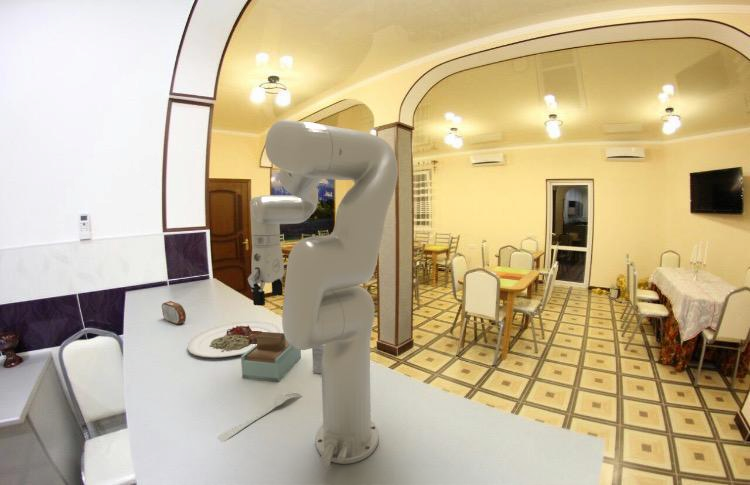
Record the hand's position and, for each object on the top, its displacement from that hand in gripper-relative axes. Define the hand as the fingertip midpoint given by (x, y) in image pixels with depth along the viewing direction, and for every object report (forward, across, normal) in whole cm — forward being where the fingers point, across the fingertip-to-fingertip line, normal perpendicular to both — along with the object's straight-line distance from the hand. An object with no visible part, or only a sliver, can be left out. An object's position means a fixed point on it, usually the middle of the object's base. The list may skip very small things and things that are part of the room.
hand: (268, 299), depth 90 cm
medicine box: (+21, +3, -16) cm, 26 cm away
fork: (+21, -20, -10) cm, 30 cm away
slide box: (+21, 0, 0) cm, 21 cm away
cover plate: (+16, 0, 0) cm, 16 cm away
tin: (+22, +27, +60) cm, 70 cm away
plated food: (+22, +15, +22) cm, 34 cm away
